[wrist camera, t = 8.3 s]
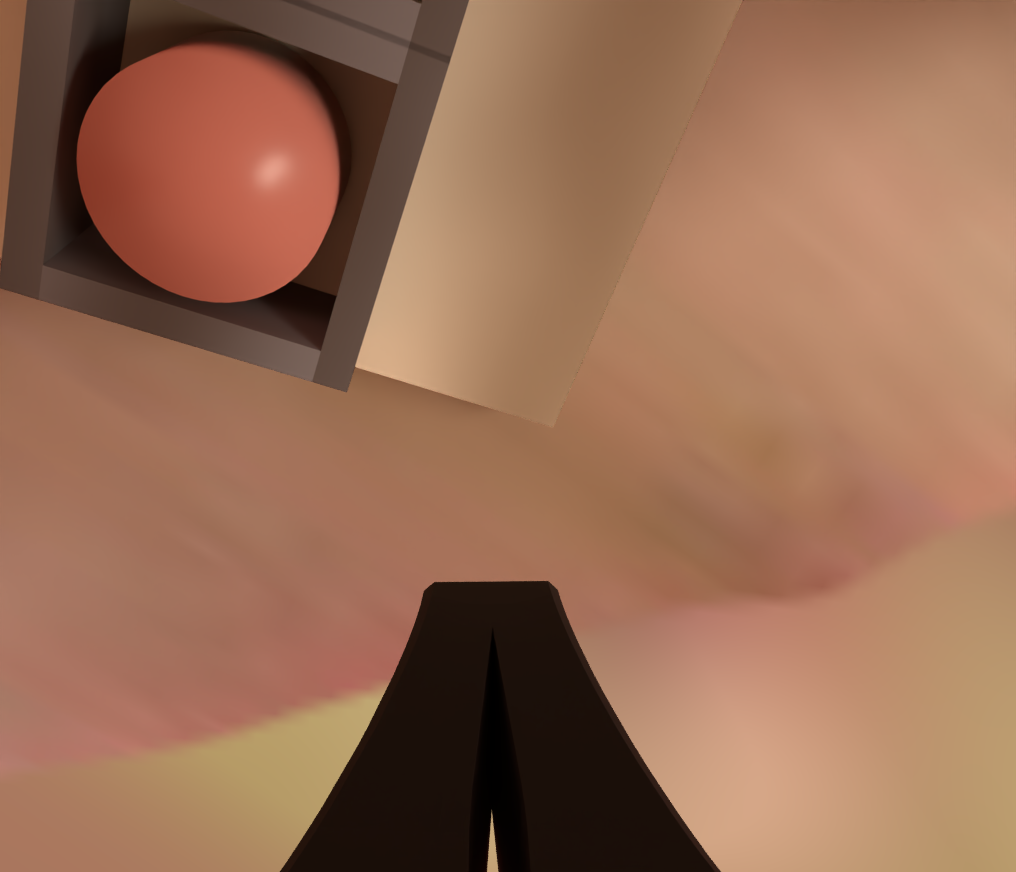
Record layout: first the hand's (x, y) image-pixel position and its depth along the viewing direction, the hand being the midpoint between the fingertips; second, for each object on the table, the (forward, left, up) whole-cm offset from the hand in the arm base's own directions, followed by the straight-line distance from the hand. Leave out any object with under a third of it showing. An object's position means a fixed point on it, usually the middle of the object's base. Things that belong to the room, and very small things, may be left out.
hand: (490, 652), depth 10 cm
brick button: (+5, -2, -8) cm, 10 cm away
